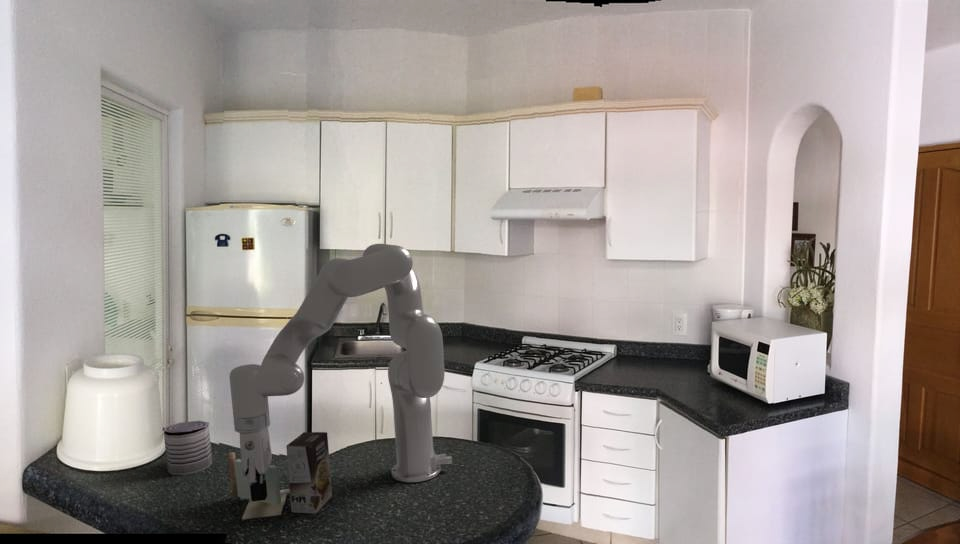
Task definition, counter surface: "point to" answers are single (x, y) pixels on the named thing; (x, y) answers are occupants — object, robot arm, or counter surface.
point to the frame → (234, 482)
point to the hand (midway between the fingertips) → (259, 498)
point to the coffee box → (309, 472)
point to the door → (271, 484)
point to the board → (263, 508)
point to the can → (187, 447)
